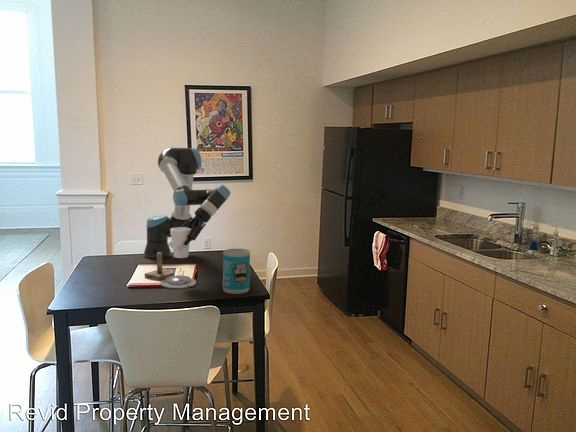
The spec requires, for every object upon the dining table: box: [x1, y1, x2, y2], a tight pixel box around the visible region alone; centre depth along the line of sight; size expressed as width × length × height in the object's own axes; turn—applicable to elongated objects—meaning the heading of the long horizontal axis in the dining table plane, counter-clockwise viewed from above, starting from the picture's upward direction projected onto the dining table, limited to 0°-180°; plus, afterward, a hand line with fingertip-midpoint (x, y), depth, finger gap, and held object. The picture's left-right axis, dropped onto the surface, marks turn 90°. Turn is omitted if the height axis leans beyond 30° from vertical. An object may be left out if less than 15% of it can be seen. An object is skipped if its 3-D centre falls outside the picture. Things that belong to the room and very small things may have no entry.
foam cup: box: [170, 227, 191, 259], centre depth 222 cm, size 10×9×13 cm
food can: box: [222, 248, 251, 295], centre depth 215 cm, size 12×12×18 cm
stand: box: [144, 252, 176, 282], centre depth 233 cm, size 10×10×12 cm
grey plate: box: [160, 275, 197, 290], centre depth 223 cm, size 16×16×2 cm
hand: (174, 247), depth 220 cm, fingers closed on foam cup, 9 cm apart
